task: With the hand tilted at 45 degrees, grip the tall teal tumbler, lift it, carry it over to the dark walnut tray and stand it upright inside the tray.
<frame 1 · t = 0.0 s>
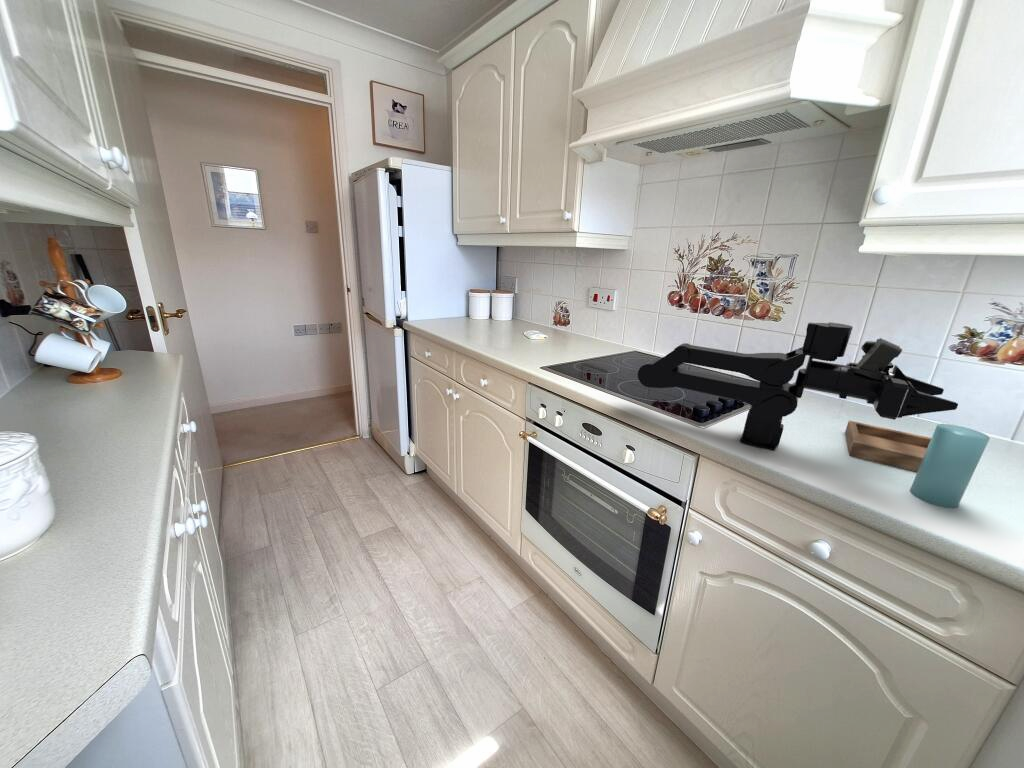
hand: (949, 398, 70), 16 cm above the counter, tool horizontal, fingers open, 9 cm apart
tray: (894, 454, 85), on the counter
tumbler: (933, 497, 70), on the counter
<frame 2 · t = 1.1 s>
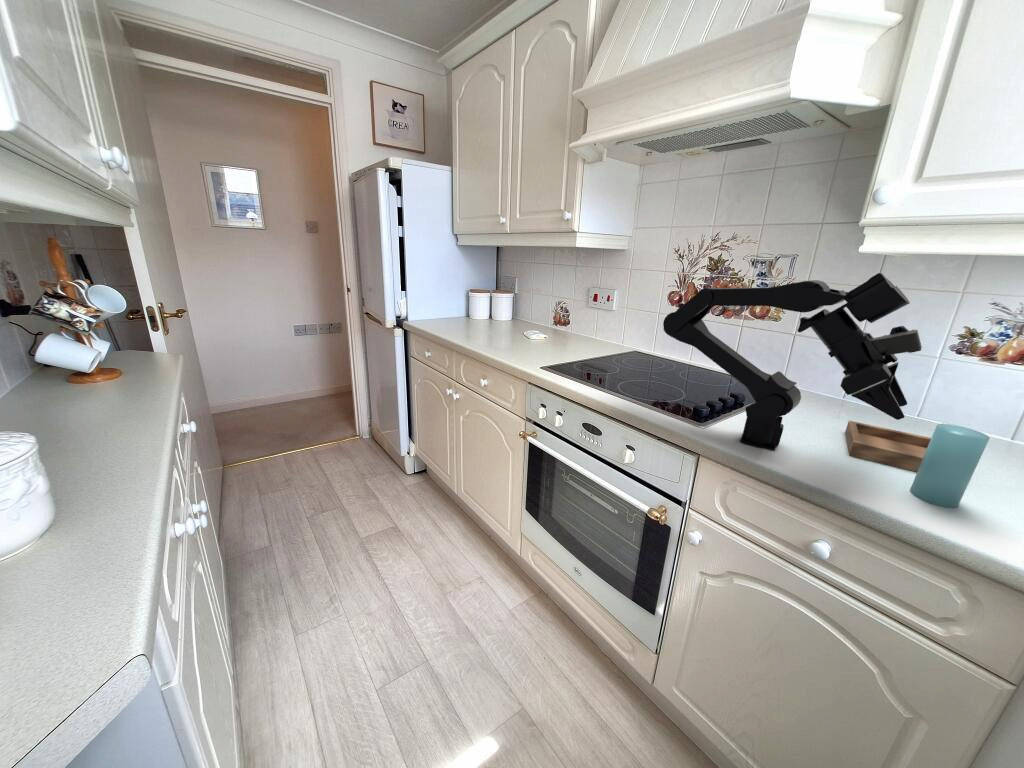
hand: (902, 411, 71), 14 cm above the counter, tool tilted 45°, fingers open, 9 cm apart
nothing on the counter moved.
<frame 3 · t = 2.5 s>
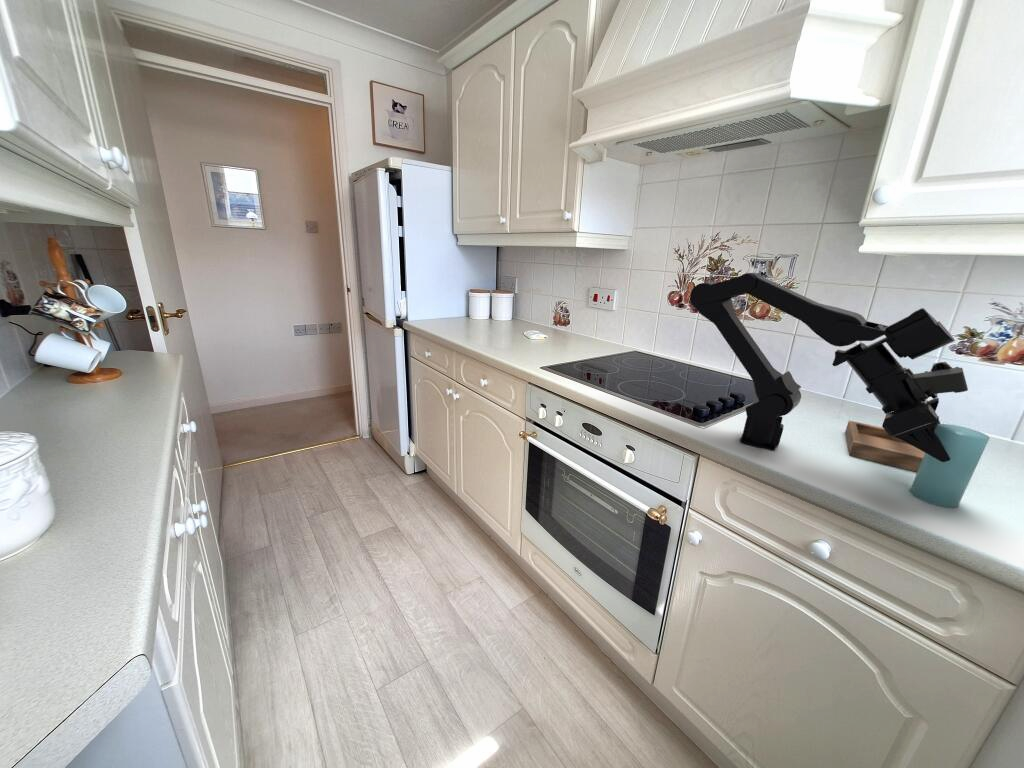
hand: (946, 451, 68), 8 cm above the counter, tool tilted 45°, fingers open, 9 cm apart
nothing on the counter moved.
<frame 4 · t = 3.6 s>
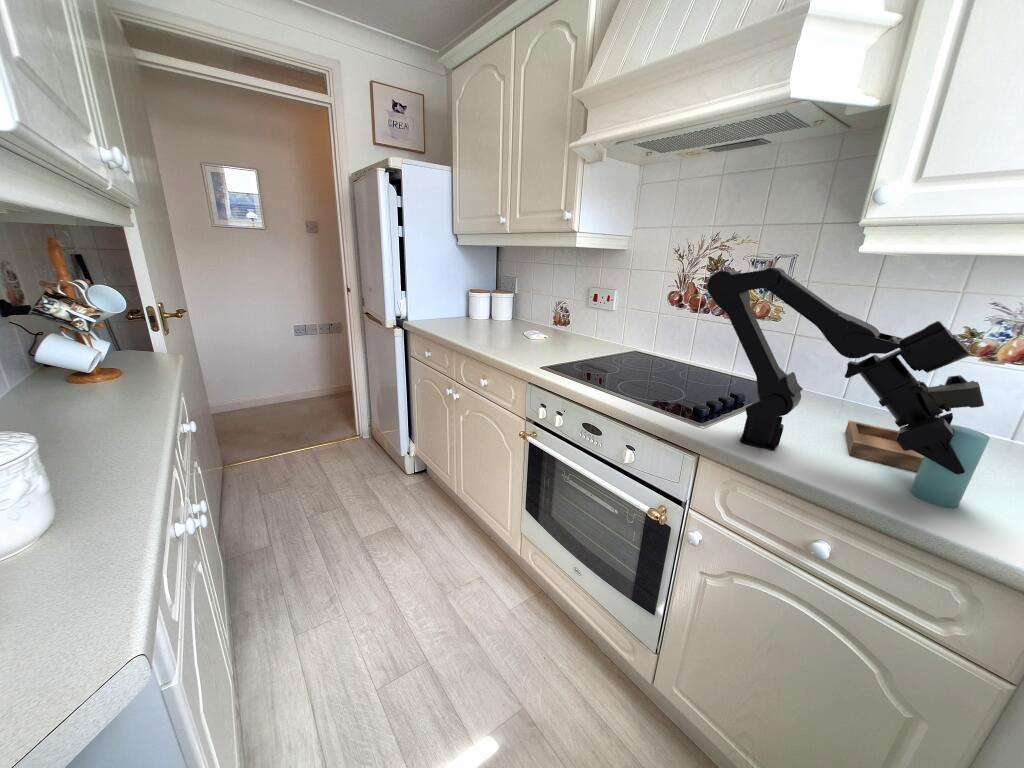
hand: (960, 466, 67), 7 cm above the counter, tool tilted 45°, fingers closed on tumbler, 6 cm apart
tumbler: (933, 497, 70), on the counter, touching gripper
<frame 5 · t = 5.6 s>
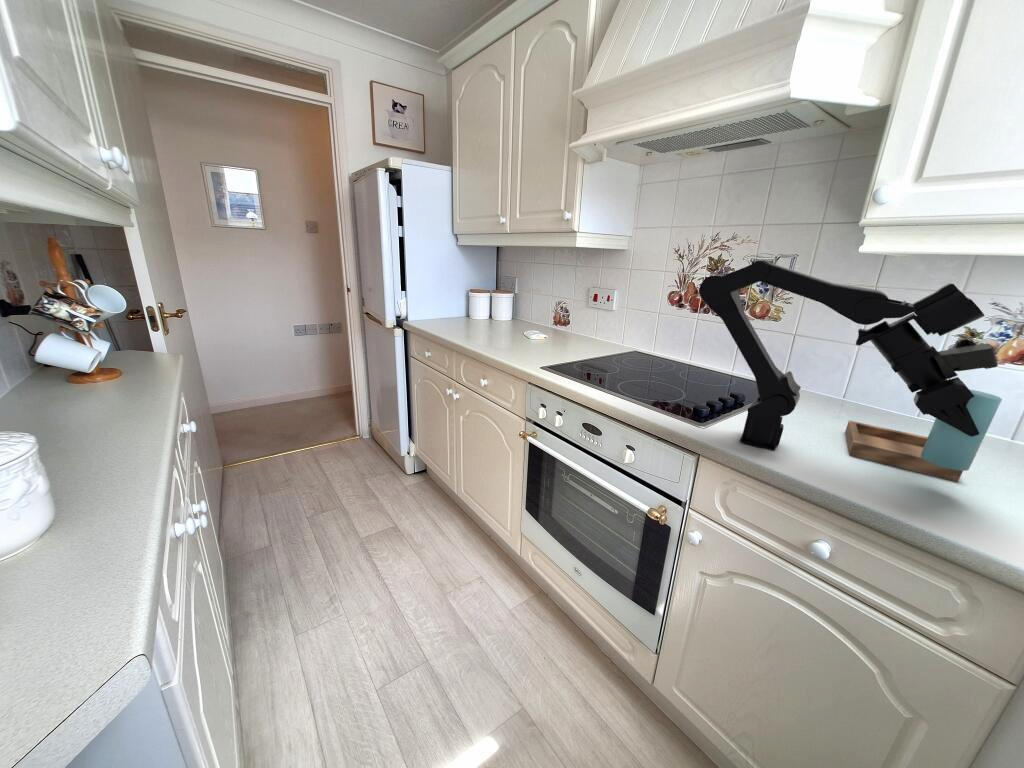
hand: (971, 429, 67), 12 cm above the counter, tool tilted 45°, fingers closed on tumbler, 6 cm apart
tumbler: (944, 461, 70), point 6 cm above the counter, touching gripper
when the fingers open (9 cm above the counter, at t = 7.9 s): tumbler drops 1 cm, resting on tray.
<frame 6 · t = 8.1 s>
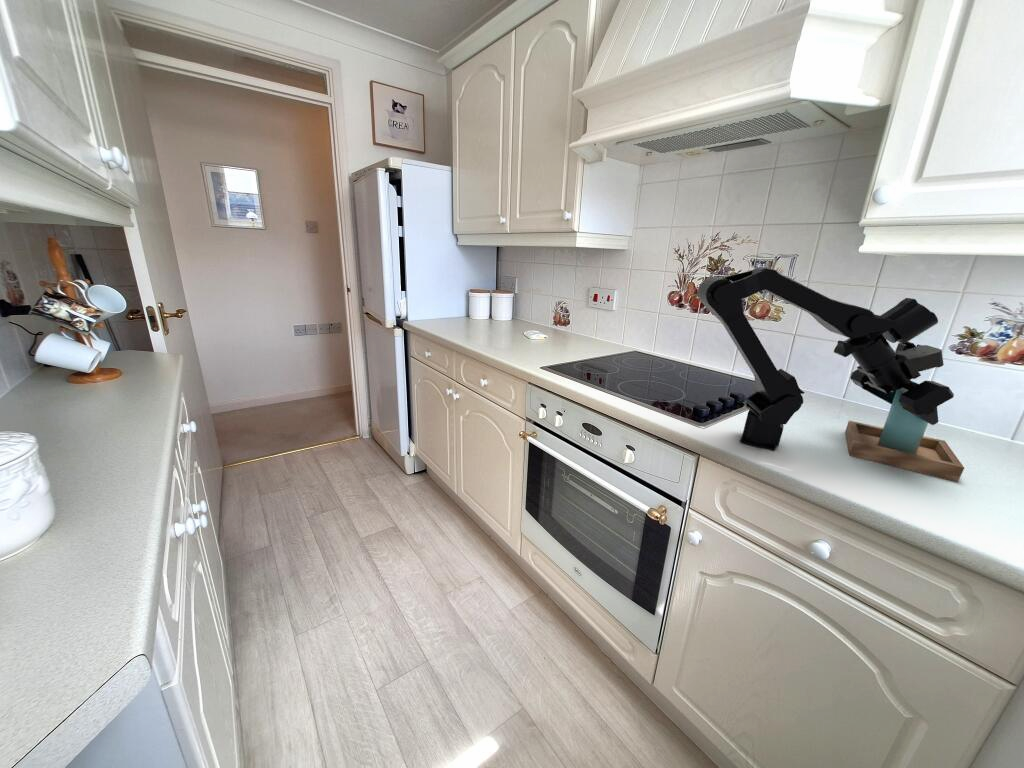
hand: (918, 415, 82), 9 cm above the counter, tool tilted 45°, fingers open, 8 cm apart
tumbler: (896, 449, 85), point 1 cm above the counter, touching tray
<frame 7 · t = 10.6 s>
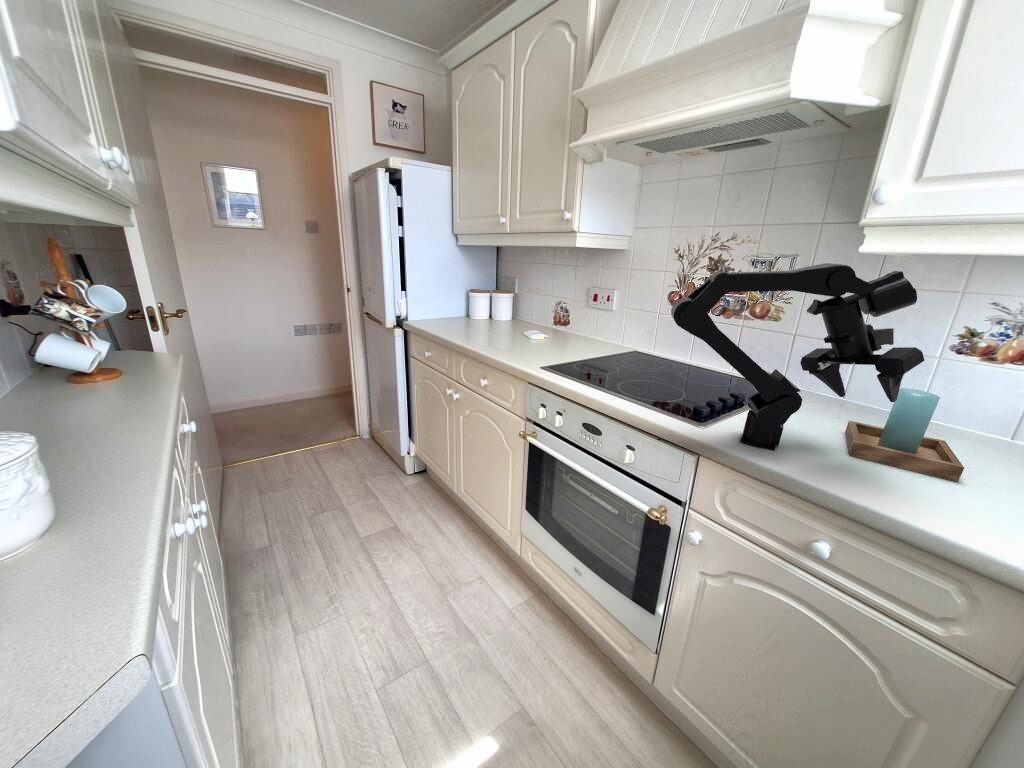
hand: (867, 398, 81), 12 cm above the counter, tool tilted 30°, fingers open, 9 cm apart
nothing on the counter moved.
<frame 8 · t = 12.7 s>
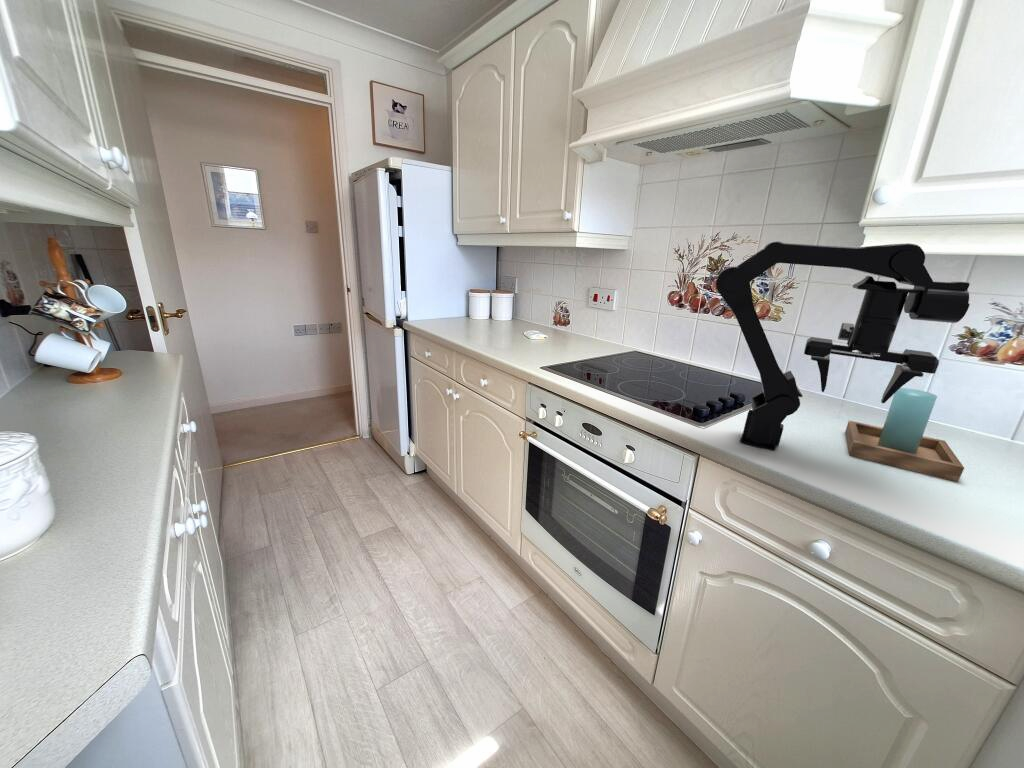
hand: (851, 396, 79), 13 cm above the counter, tool pointing down, fingers open, 9 cm apart
nothing on the counter moved.
at the end: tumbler inside the target area on the tray (0.1 cm from its centre), point 1.1 cm above the tray's base; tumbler tilted 1°; the gripper is holding nothing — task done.
